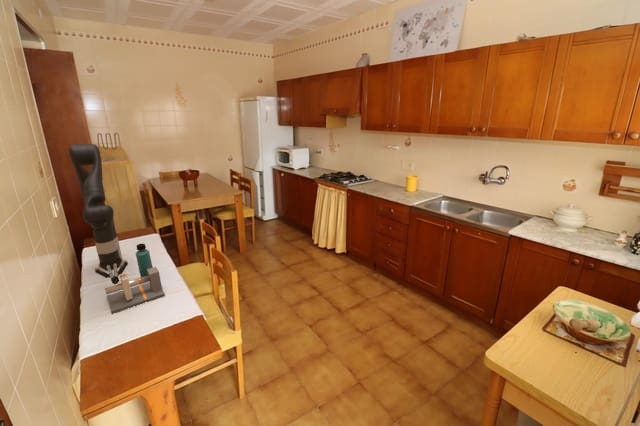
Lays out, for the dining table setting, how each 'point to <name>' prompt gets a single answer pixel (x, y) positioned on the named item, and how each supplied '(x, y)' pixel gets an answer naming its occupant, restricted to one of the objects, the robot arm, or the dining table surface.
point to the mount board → (138, 293)
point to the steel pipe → (132, 283)
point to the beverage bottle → (143, 259)
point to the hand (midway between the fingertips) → (115, 283)
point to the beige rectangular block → (126, 285)
